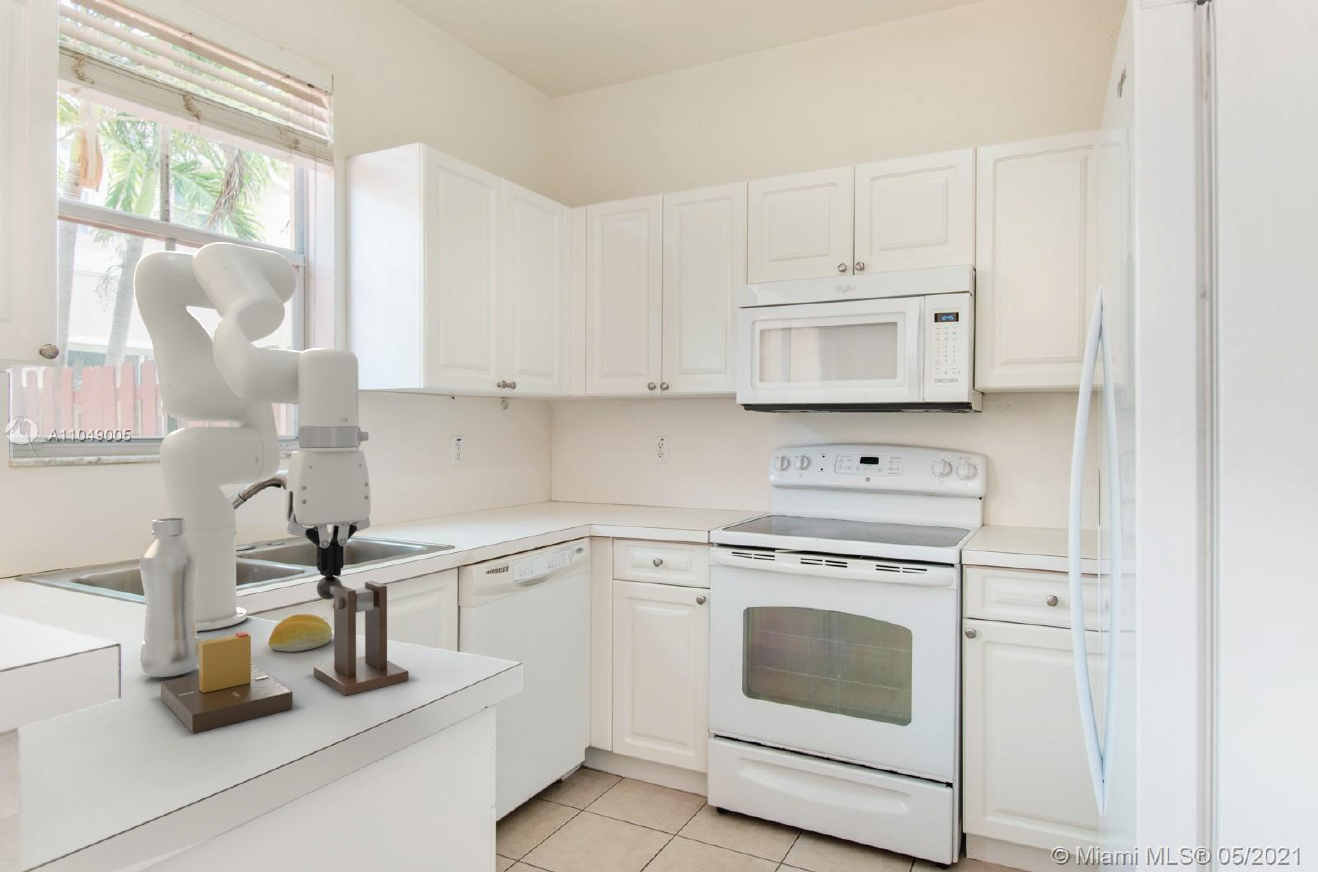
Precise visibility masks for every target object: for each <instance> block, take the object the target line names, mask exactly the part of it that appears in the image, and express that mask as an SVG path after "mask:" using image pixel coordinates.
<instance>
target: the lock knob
mask: <svg viewBox="0 0 1318 872" xmlns="http://www.w3.org/2000/svg"><path fill="white" fill-rule="evenodd" d="M199 641H200V640H199ZM251 664H252V636H251V635H249V633H247V632H246V631H243V632H242V631H241V632H236V633H235V635H230V636H224V637H219V638H218V637H217V638H212V639H206V640H201V641H200V642H199V663H198V675H199V690H200V691H201V692H203V693H205V692H210V691H215V690H219V689H224V688H229V687H233V686H238V685H243V684H247V683H251Z"/></svg>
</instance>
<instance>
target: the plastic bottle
mask: <svg viewBox="0 0 1318 872" xmlns="http://www.w3.org/2000/svg"><path fill="white" fill-rule="evenodd" d="M185 533H187V529H186V518H167V517H166V518H164V517H163V518H157V519H153V520H152V530H151V536H153V540H152V541H151V542H150V544H149V545H148V546H147V547H146V549H145V550H144V551H143V553H142V555H141V557H140V558H139V563H138V564H139V571H140V578H141V583H142V588H143V596H144V604H145V607H144V608H145V609H144V610H145V621H144V632H143V633H144V634H143V635H144V636H143V641H142V646H141V650H140V651H141V652H140V664H141V668H142V670H143V672H144V673H145V674H146V675H147V676H148V677H151V678H165V677H166V678H171V677H172V678H173V677H175V676H179V675H184V674H188V673H190V672H193V671H194V670H195V669H196V668H197V666H199V642H200V637H199V635H198V631H197V628H196V619H195V610H194V607H195V602H194V599H195V586H196V579H197V572H198V565H199V557H198V555H197V552H196V550H195V549H194V548H193V546H192V545H191V544H190V543H189V542H188V541H187V539H186V538H185V535H184V534H185Z"/></svg>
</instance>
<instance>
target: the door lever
mask: <svg viewBox="0 0 1318 872" xmlns="http://www.w3.org/2000/svg"><path fill="white" fill-rule="evenodd" d="M342 583H343V582H342V581H341V579H339V577H338V576H333V577H326V576H323V577H322V578H321V579H320V580H319V581H318V583H317V585H316V593H317V594H318V597H320V598H322V599H323V600H326V601H327V600H328V601H331V600H334V586H338V585H343V584H342ZM352 589H353V588H352ZM353 590H356V613H362V612H365V611H369V610H373V609H374V592H373V591H372V590H369V589H366V588H365V587H359V588H354V589H353Z"/></svg>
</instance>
